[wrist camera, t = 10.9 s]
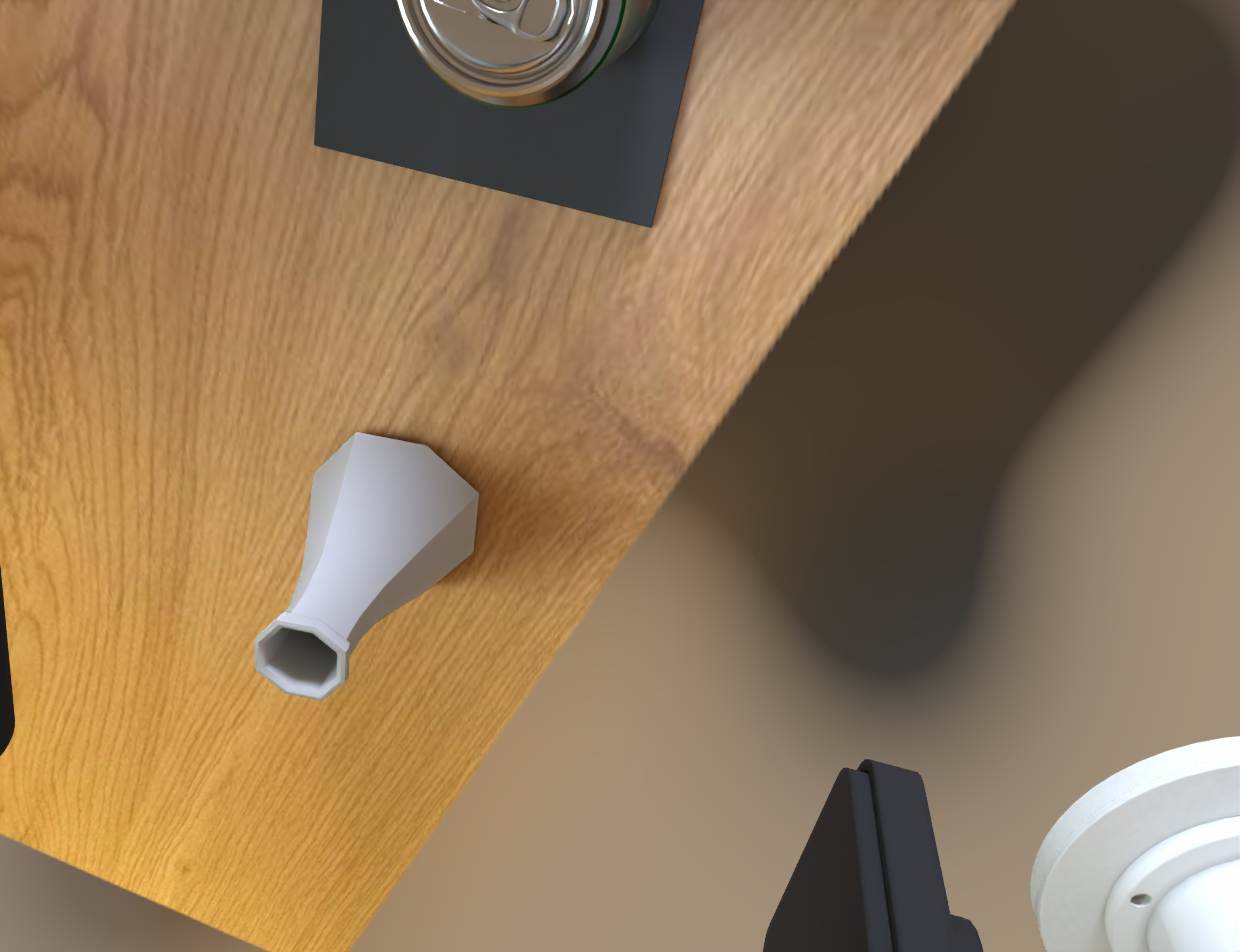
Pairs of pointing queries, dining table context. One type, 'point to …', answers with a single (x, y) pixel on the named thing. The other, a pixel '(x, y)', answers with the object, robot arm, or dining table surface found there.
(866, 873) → the robot arm
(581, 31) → the soda can
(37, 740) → the dining table surface
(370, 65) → the mat
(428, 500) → the flask
